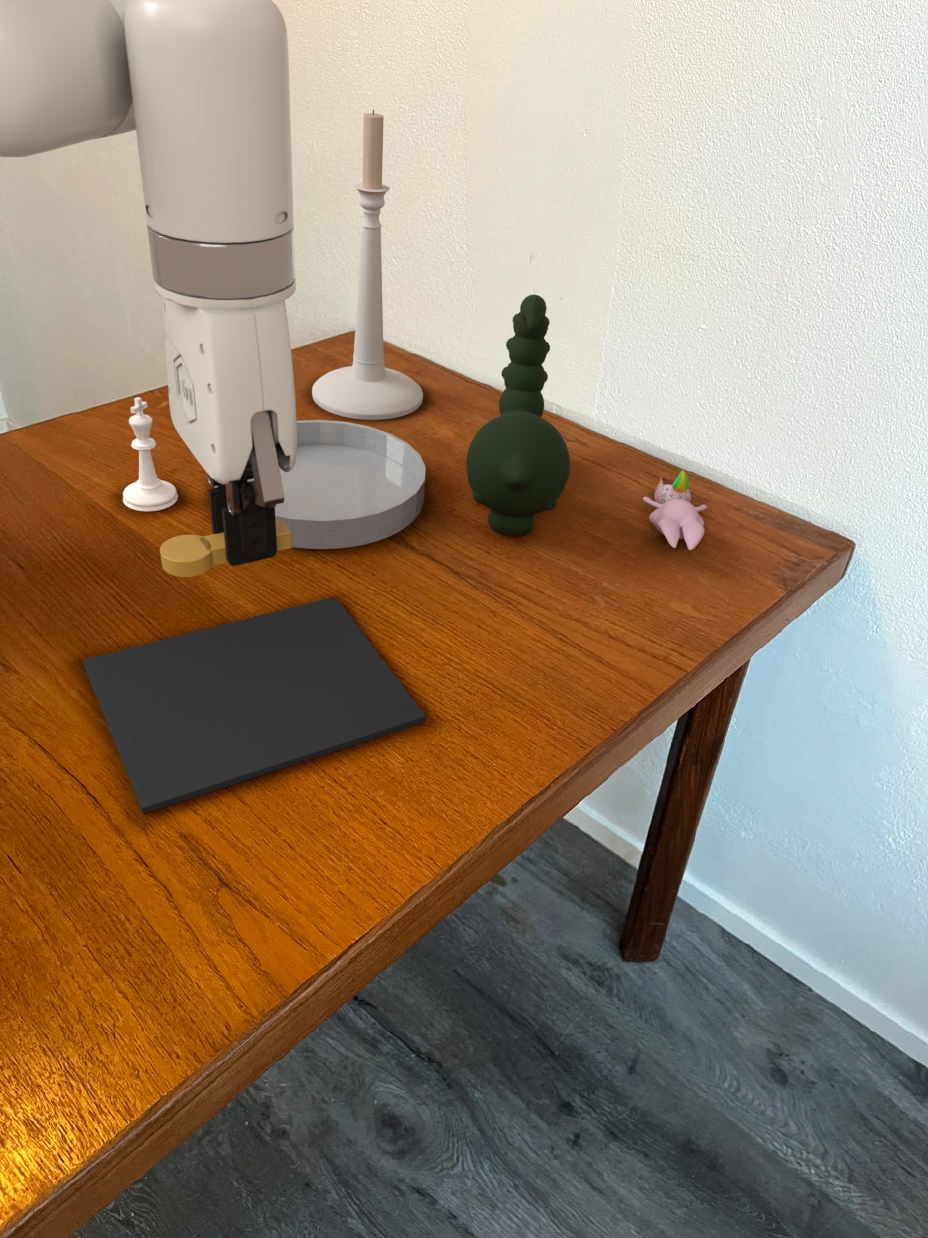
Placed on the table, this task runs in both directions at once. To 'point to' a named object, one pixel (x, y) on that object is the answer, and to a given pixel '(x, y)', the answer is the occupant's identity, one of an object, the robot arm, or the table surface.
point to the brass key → (205, 552)
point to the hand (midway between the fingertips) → (245, 547)
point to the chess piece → (146, 468)
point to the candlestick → (369, 314)
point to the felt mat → (245, 700)
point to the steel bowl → (349, 486)
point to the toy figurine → (520, 435)
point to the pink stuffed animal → (677, 513)
